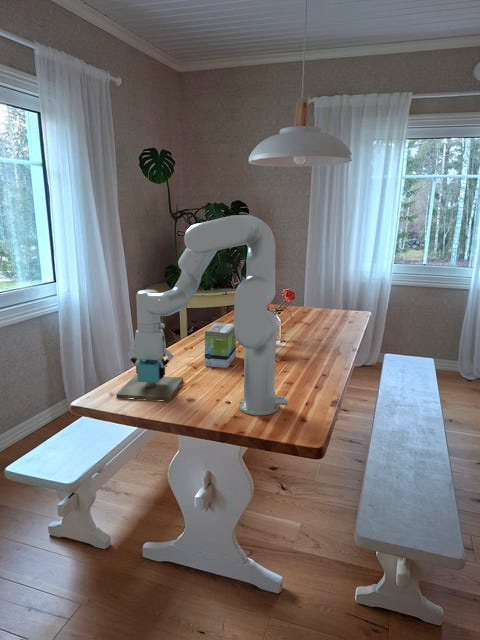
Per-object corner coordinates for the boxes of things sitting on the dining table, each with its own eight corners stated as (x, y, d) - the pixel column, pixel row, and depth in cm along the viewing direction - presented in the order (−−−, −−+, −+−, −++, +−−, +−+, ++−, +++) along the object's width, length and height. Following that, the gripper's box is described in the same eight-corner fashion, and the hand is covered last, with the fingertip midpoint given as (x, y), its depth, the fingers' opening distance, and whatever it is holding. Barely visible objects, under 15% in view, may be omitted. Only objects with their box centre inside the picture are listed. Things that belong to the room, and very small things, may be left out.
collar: (163, 375, 157) (163, 359, 156) (157, 382, 151) (157, 366, 149) (144, 374, 158) (143, 358, 157) (137, 381, 152) (136, 365, 150)
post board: (183, 381, 163) (182, 364, 162) (169, 401, 146) (169, 383, 144) (135, 378, 165) (134, 361, 164) (116, 398, 148) (115, 380, 146)
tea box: (228, 368, 177) (228, 332, 174) (203, 366, 179) (203, 330, 175) (236, 356, 191) (236, 323, 188) (213, 355, 193) (213, 321, 190)
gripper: (177, 325, 153) (178, 374, 157) (128, 323, 155) (130, 371, 159) (171, 330, 146) (172, 382, 150) (119, 328, 147) (122, 379, 152)
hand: (150, 376), depth 154 cm, fingers closed on collar, 7 cm apart
